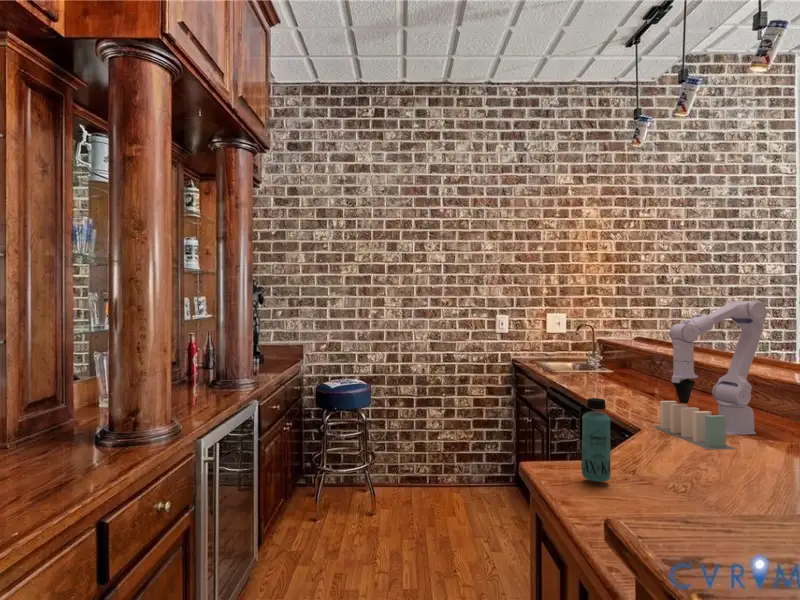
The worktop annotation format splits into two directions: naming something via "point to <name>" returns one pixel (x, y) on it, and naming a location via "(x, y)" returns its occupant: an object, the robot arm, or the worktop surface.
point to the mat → (690, 439)
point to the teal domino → (715, 430)
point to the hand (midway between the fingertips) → (683, 402)
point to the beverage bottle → (596, 442)
